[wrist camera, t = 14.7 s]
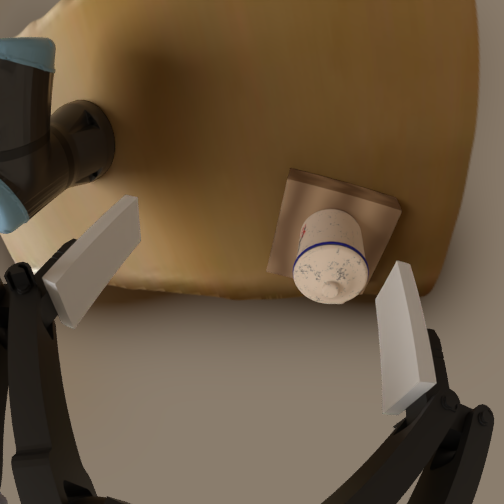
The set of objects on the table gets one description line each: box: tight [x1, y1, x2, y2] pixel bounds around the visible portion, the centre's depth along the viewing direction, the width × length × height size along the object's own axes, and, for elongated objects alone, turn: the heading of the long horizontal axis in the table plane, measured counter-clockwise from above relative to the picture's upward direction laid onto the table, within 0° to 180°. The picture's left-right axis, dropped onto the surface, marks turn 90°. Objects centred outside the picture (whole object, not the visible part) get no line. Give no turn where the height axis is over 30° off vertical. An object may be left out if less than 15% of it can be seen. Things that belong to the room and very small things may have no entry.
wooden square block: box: [266, 168, 402, 295], centre depth 44 cm, size 16×16×4 cm
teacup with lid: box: [293, 209, 369, 304], centre depth 38 cm, size 12×9×12 cm
